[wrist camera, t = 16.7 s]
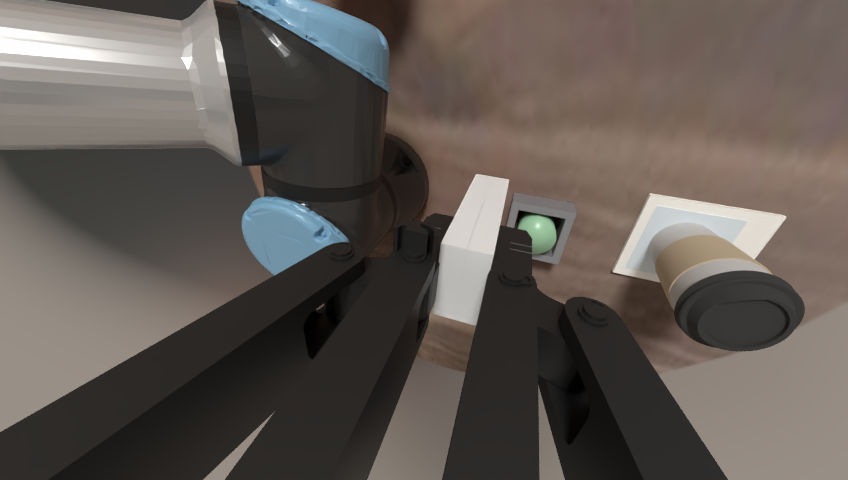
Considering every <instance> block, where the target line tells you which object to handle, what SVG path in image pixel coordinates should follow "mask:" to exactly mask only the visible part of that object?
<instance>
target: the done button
mask: <svg viewBox="0 0 848 480" xmlns="http://www.w3.org/2000/svg"><path fill="white" fill-rule="evenodd" d="M517 229H521V230H526V231H527V232H528V233H529V235H530V236H531V238H532V254H541V253H545V252H547V251H549V250H550V249H551V248H552V247H553V246H554V244H555V242H556V230H555V222H554V219H553V217H552V216H548V215H543V214H538V213H532V212H527V211H526V212H524V213H523V214H522V215H521V216H520V218H519V220H518V226H517Z"/></svg>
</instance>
